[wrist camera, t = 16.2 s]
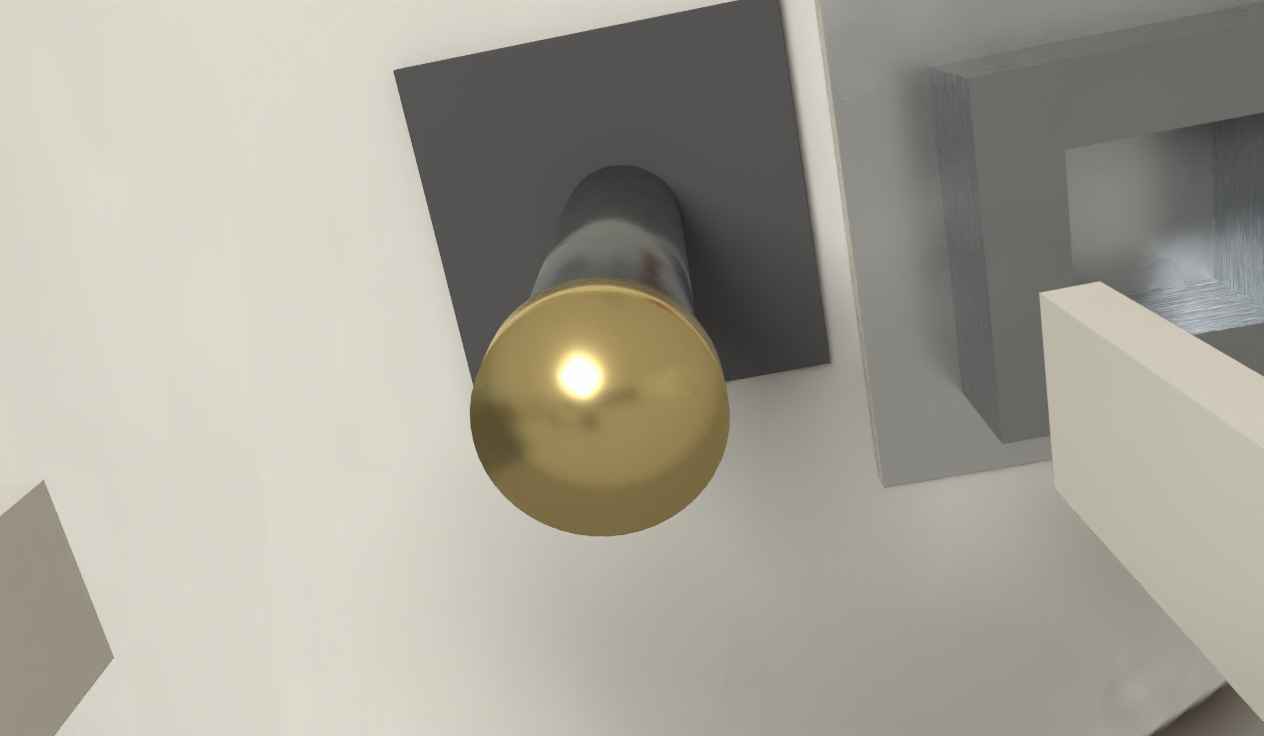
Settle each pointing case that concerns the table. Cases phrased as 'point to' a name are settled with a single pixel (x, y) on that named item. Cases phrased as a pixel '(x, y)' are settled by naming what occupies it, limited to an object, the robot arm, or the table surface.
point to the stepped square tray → (1036, 197)
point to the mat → (628, 135)
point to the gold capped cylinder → (604, 370)
